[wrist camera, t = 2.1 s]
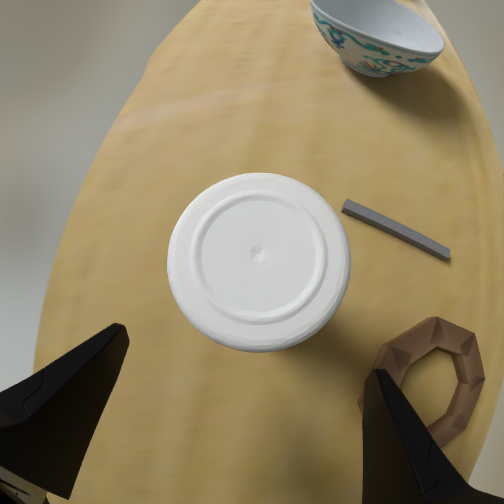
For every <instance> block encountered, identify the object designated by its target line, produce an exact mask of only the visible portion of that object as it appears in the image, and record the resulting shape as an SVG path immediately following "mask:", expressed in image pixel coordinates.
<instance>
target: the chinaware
mask: <svg viewBox="0 0 504 504" xmlns="http://www.w3.org/2000/svg"><path fill="white" fill-rule="evenodd" d="M310 3H311V9H312V14H313V17H314V20H315V23H316V25H317V27H318V29H319V31H320V33H321V35H322V36H323V38H324V39H325V40H326V42H327V43H328V44H329V45H330V46H331V47H332V48H333V49H334V50H335V51H336V52H337V53H338V54H339V56H340V58H341V60H342V61H343V62H344V63H345V64H346V65H347V66H348V67H350V68H351V69H353V70H355V71H357V72H359V73H361V74H364V75H367V76H371V77H386V76H388V75H390V74H404V73H409V72H413V71H416V70H419V69H421V68H423V67H425V66H426V65H428V64H429V63H431V62H432V61H433V60H434V59H435V58H436V57H437V56H438V55H439V54H440V53H441V52H442V51H443V49H444V41H443V38H442V36H441V35H440V33H439V32H438V31H437V30H436V29H435V28H434V27H433V26H432V25H431V24H430V23H429V22H428V21H427V20H426V19H424V18H423V17H422V16H420V15H419V14H418V13H416V12H414V11H413V10H411V9H410V8H408V7H406V6H404V5H402V4H400V3H398V2H396V1H394V0H310Z"/></svg>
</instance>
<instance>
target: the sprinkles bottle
mask: <svg viewBox="0 0 504 504" xmlns="http://www.w3.org/2000/svg"><path fill="white" fill-rule="evenodd" d="M350 270H351V254H350V247H349V242H348V238H347V235H346V232H345V229H344V227H343V225H342V223H341V221H340V219H339V217H338V216H337V214H336V213H335V211H334V210H333V209H332V207H331V206H330V205H329V204H328V202H327V201H326V200H325V199H324V198H323V197H322V196H320V195H319V194H318V193H317V192H315V191H314V190H313V189H312V188H310V187H308V186H307V185H305V184H303V183H301V182H299V181H297V180H294V179H292V178H289V177H286V176H282V175H277V174H271V173H248V174H242V175H237V176H234V177H231V178H228V179H225V180H222V181H220V182H218V183H216V184H214V185H212V186H211V187H209V188H208V189H206V190H205V191H203V192H202V193H201V194H200V195H199V196H197V197H196V198H195V199H194V200H193V201H192V202H191V203H190V204H189V206H188V207H187V208H186V209H185V211H184V212H183V214H182V215H181V217H180V218H179V220H178V222H177V224H176V226H175V228H174V230H173V233H172V236H171V240H170V244H169V249H168V259H167V272H168V277H169V283H170V287H171V290H172V293H173V296H174V298H175V300H176V302H177V304H178V306H179V308H180V309H181V311H182V312H183V314H184V315H185V316H186V318H187V319H188V320H189V322H190V323H191V324H192V325H193V326H194V327H196V328H197V329H198V330H199V331H200V332H201V333H203V334H204V335H205V336H207V337H208V338H210V339H212V340H213V341H215V342H217V343H219V344H221V345H224V346H226V347H229V348H232V349H235V350H239V351H245V352H256V353H261V352H273V351H279V350H282V349H286V348H289V347H292V346H294V345H297V344H299V343H301V342H303V341H305V340H307V339H308V338H310V337H311V336H313V335H314V334H315V333H317V332H318V331H319V330H320V329H321V328H322V327H323V326H324V325H325V324H326V323H327V322H328V321H329V320H330V319H331V318H332V316H333V315H334V314H335V312H336V311H337V309H338V308H339V306H340V304H341V302H342V300H343V298H344V295H345V293H346V290H347V287H348V283H349V278H350Z"/></svg>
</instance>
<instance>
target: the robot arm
mask: <svg viewBox="0 0 504 504" xmlns="http://www.w3.org/2000/svg"><path fill="white" fill-rule="evenodd" d="M128 347H129V337H128V333H127V330H126V327H125V326H124V325H122V324H119V323H113V324H111V325H110V326H108V327H107V328H105V329H104V330H102V331H100V332H99V333H97V334H96V335H94V336H93V337H91V338H89V339H88V340H86V341H85V342H83V343H82V344H80V345H78V346H77V347H75V348H74V349H72V350H71V351H69V352H68V353H66V354H64V355H63V356H61V357H60V358H58V359H57V360H55V361H54V362H52V363H50V364H49V365H47V366H46V367H45V368H43V369H41V370H40V371H38V372H36V373H35V374H33V375H32V376H30V377H28V378H27V379H25V380H23V381H21V382H19V383H18V384H15V385H14V386H12V387H10V388H8V389H6V390H4V391H2V392H0V504H49V502H48V499H47V497H46V494H47V492H50V493H53V494H55V495H57V496H60V497H62V498H65V499H67V500H69V498H70V495H71V493H72V490H73V487H74V484H75V481H76V478H77V475H78V473H79V470H80V467H81V465H82V461H83V459H84V456H85V454H86V451H87V449H88V446H89V444H90V441H91V439H92V436H93V434H94V431H95V429H96V426H97V424H98V422H99V419H100V417H101V415H102V412H103V410H104V408H105V405H106V403H107V401H108V399H109V396H110V394H111V392H112V390H113V388H114V385H115V383H116V381H117V379H118V376H119V373H120V370H121V367H122V364H123V361H124V358H125V355H126V352H127V349H128ZM362 431H363V492H362V504H504V498H501V497H497V496H494V495H491V494H488V493H484V492H481V491H479V490H476V489H474V488H473V487H471V486H470V485H469V484H468V483H467V482H466V481H465V480H464V479H463V477H462V476H461V475H460V474H459V472H458V471H457V470H456V469H455V468H454V466H453V465H452V464H451V463H450V461H449V460H448V459H447V457H446V456H445V455H444V453H443V452H442V450H441V449H440V448H439V446H438V445H437V443H436V441H435V440H434V439H433V437H432V436H431V434H430V433H429V431H428V429H427V428H426V426H425V425H424V424H423V422H422V421H421V419H420V418H419V416H418V415H417V413H416V412H415V410H414V409H413V407H412V406H411V404H410V403H409V401H408V400H407V399H406V397H405V396H404V394H403V393H402V391H401V390H400V389H399V387H398V386H397V384H396V383H395V381H394V380H393V379H392V377H391V376H390V374H389V373H388V372H387V370H386V369H384V368H375V369H373V371H372V372H371V374H370V375H369V377H368V378H367V379H366V381H365V385H364V403H363V419H362Z"/></svg>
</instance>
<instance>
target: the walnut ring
mask: <svg viewBox="0 0 504 504" xmlns="http://www.w3.org/2000/svg"><path fill="white" fill-rule="evenodd" d="M434 348H436V349H439V350H442V351H444V352H447V353H450V354H452V358H453V362H454V366H455V370H456V374H457V378H458V385H457V388H456V390H455V393H454V395H453V398H452V400H451V403H450V405H449V407H448V410H447V412H446V414H445V415H444V416H442V417H441V418H440V419H438V420H437V421H435V422H434V423H433V424H431V425H430V426H428V427H427V429H428V431H429V433H430V434H431V436H432V437H433V439H434V440H435V441H436V443H437V445H438V446H439V448H442V447H443V446H444V445H446V444H447V443H448V442H450V441H451V440H452V439H453V438H455V437H456V436H457V435H458V434H460V433H461V432H462V431H463V430H464V429H465V428H466V426H467V424H468V421H469V419H470V417H471V415H472V412H473V410H474V407H475V405H476V402H477V400H478V397H479V395H480V392H481V389H482V386H483V383H484V380H485V376H484V371H483V366H482V361H481V356H480V352H479V348H478V344H477V340H476V336H475V333H473V332H471V331H468V330H466V329H464V328H462V327H459V326H457V325H455V324H453V323H450V322H448V321H446V320H444V319H441V318H439V317H431V318H427V319H425V320H424V321H422V322H421V323H419V324H417V325H416V326H414V327H413V328H411V329H409V330H408V331H406V332H404V333H403V334H401V335H399V336H398V337H396V338H394V339H392V340H391V341H389V342H387V343H385V344H384V345H382V347H381V349H380V352H379V354H378V357H377V360H376V362H375V364H374V367H373V369H375V368H384V369H386V370H387V372H388V373H389V374H390V376H391V377H392V379H393V380H394V381H395V383H396V384H397V386H398V387H400V385H401V382H402V380H403V377H404V375H405V372H406V370H407V367H408V365H410V364H411V363H413V362H414V361H416V360H417V359H419V358H420V357H422V356H423V355H425V354H426V353H428V352H429V351H431V350H432V349H434ZM373 369H372V371H373ZM363 403H364V390H363V392H362V394H361V397H360V399H359V401H358V405H359V408H360V410H361V413H362V416H363Z"/></svg>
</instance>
